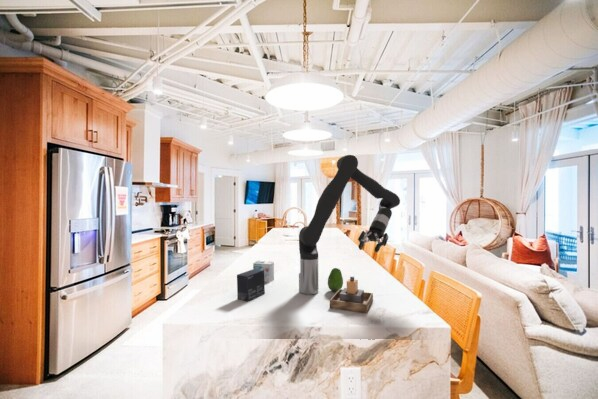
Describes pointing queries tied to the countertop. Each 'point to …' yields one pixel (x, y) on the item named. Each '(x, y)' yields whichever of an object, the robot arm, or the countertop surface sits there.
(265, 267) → the light bulb box
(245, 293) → the small box
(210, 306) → the countertop surface
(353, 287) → the plug
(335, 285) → the avocado
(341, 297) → the walled tray
